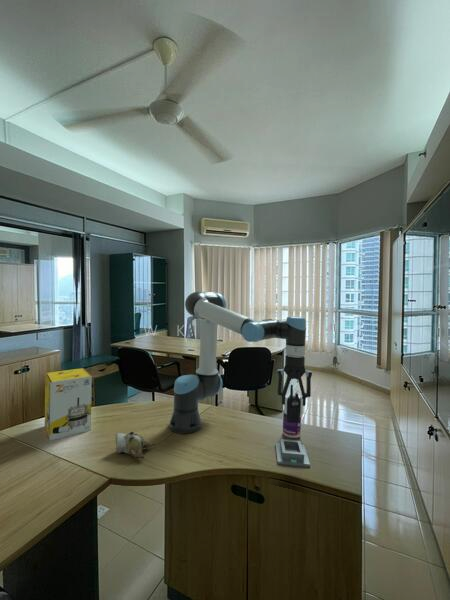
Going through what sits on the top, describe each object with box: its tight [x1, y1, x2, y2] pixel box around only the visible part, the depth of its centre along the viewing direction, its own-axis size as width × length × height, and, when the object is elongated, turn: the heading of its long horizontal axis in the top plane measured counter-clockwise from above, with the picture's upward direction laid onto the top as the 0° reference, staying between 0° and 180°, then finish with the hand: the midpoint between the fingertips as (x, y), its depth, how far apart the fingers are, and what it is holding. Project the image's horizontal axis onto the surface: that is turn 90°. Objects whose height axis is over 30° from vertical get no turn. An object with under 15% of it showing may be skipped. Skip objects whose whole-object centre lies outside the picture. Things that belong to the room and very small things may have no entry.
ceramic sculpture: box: [115, 431, 156, 459], centre depth 113 cm, size 11×9×15 cm
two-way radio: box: [287, 384, 300, 423], centre depth 114 cm, size 6×4×15 cm
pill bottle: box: [282, 409, 302, 439], centre depth 131 cm, size 8×8×14 cm
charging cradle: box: [274, 439, 311, 468], centre depth 115 cm, size 12×14×4 cm
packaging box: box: [44, 367, 93, 442], centre depth 131 cm, size 16×16×25 cm
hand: (293, 412), depth 114 cm, fingers closed on two-way radio, 5 cm apart
